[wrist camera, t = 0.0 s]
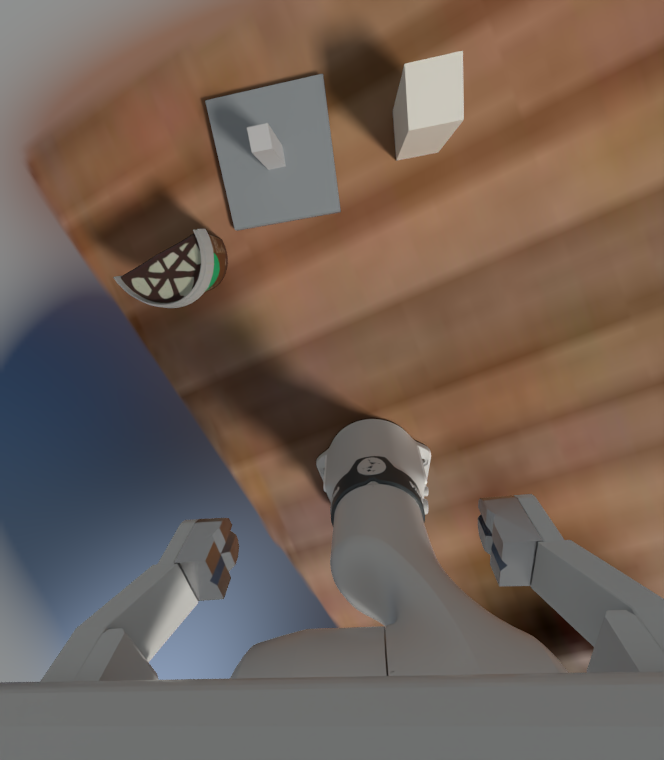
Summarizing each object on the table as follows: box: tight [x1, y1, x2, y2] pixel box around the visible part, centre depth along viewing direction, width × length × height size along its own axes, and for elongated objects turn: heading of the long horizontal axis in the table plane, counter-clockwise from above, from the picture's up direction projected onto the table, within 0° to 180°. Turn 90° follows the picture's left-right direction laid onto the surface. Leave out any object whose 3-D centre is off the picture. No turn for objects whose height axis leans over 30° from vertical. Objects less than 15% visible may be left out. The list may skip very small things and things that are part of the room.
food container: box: [113, 229, 228, 308], centre depth 42 cm, size 12×6×10 cm, turn 116°
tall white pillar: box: [393, 51, 464, 161], centre depth 34 cm, size 5×5×10 cm
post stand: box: [205, 74, 341, 231], centre depth 37 cm, size 14×14×8 cm
